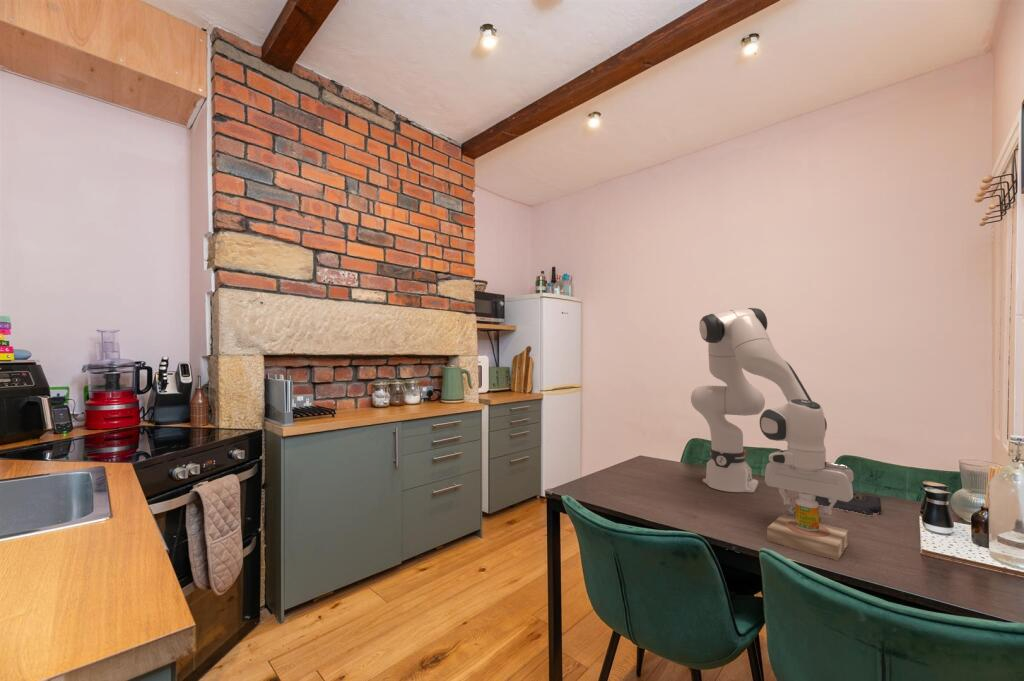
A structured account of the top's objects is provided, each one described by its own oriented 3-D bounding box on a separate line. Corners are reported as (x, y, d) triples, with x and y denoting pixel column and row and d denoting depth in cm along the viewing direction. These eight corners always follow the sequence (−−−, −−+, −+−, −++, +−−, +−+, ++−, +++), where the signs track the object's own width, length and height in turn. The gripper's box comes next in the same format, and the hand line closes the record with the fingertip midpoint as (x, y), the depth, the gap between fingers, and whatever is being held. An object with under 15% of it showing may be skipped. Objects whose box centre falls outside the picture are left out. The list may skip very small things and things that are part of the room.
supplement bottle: (797, 529, 119) (797, 494, 119) (794, 522, 124) (793, 488, 124) (821, 533, 117) (820, 496, 117) (816, 525, 122) (816, 490, 122)
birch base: (782, 526, 131) (782, 513, 131) (848, 543, 119) (848, 529, 120) (767, 540, 121) (767, 526, 121) (838, 561, 110) (837, 545, 110)
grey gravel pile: (816, 528, 131) (816, 514, 131) (787, 521, 136) (787, 508, 136) (822, 518, 139) (822, 505, 139) (794, 511, 144) (794, 499, 144)
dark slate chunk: (806, 493, 163) (806, 480, 163) (883, 508, 148) (883, 494, 148) (797, 503, 152) (796, 489, 152) (879, 520, 137) (878, 505, 137)
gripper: (855, 464, 116) (856, 516, 115) (769, 451, 130) (770, 497, 130) (851, 468, 111) (852, 523, 111) (762, 454, 126) (763, 502, 126)
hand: (807, 509), depth 121 cm, fingers open, 8 cm apart
